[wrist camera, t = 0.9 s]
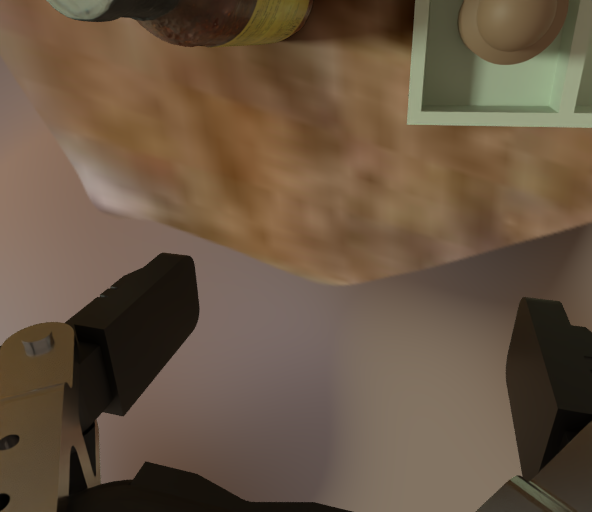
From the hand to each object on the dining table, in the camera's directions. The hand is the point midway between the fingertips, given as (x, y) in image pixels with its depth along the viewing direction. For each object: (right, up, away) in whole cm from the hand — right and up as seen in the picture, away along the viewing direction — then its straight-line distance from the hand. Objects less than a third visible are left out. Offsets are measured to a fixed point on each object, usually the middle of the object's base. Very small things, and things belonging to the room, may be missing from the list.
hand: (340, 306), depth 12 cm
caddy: (+15, +16, +17) cm, 28 cm away
